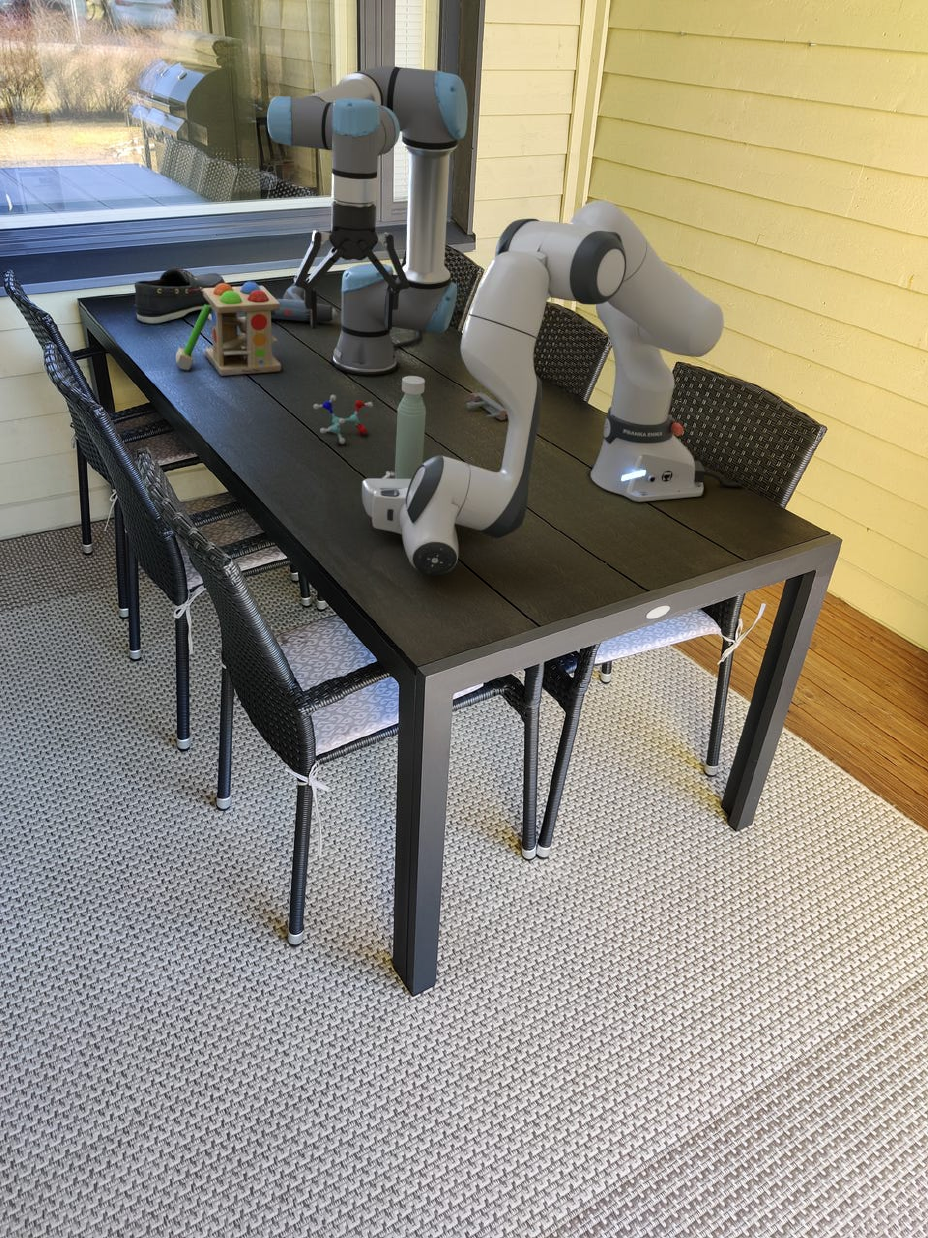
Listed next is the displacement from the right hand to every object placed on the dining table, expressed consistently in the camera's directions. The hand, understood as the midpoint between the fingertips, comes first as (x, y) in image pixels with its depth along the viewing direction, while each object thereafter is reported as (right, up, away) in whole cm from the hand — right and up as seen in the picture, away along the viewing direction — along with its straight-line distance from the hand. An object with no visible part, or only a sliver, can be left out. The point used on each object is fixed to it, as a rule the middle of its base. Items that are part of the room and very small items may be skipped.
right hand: (415, 475), depth 177 cm
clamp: (+15, +20, +42) cm, 49 cm away
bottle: (-2, +1, +13) cm, 13 cm away
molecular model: (-17, +12, +26) cm, 34 cm away
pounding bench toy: (-47, +34, +53) cm, 79 cm away
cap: (-1, +17, +2) cm, 17 cm away
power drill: (-34, +57, +90) cm, 112 cm away
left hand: (-12, +27, 0) cm, 29 cm away
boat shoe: (-66, +57, +85) cm, 122 cm away
